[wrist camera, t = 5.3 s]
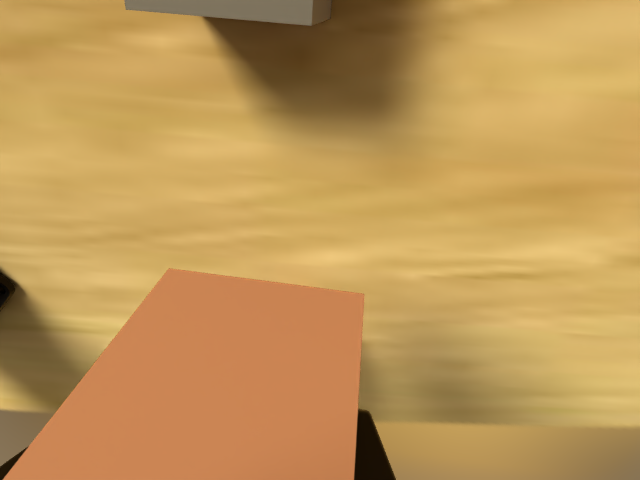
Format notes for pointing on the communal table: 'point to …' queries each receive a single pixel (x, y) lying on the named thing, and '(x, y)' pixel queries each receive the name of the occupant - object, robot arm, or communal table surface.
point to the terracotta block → (214, 388)
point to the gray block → (242, 9)
